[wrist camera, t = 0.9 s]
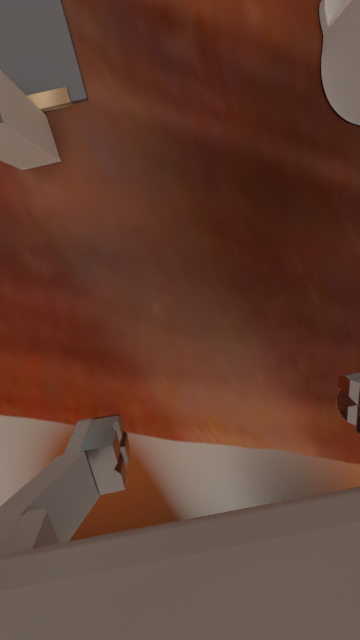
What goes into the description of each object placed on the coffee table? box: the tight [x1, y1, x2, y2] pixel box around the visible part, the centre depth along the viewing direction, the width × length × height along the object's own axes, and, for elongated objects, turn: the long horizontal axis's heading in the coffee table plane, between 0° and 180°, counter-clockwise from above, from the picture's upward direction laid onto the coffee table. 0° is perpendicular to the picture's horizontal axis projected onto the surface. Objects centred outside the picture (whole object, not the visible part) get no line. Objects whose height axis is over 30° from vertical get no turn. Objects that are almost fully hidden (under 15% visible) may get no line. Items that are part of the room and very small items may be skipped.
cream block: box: [0, 70, 61, 170], centre depth 27 cm, size 5×5×14 cm
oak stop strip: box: [27, 87, 73, 113], centre depth 32 cm, size 12×2×1 cm, turn 102°
